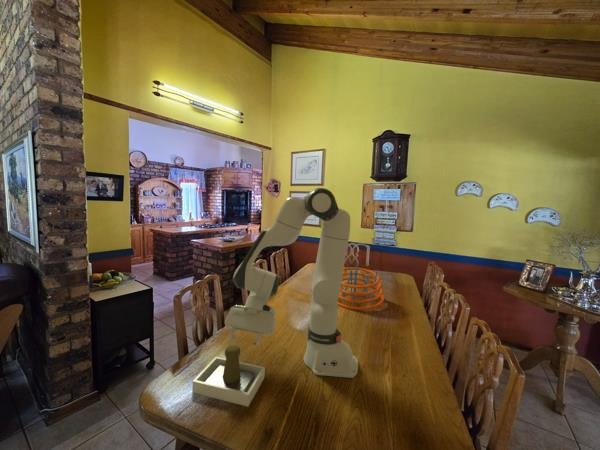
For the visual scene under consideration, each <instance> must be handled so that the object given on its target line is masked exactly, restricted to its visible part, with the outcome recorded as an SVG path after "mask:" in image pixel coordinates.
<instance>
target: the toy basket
mask: <svg viewBox="0 0 600 450" xmlns="http://www.w3.org/2000/svg"><path fill="white" fill-rule="evenodd" d="M344 271H350V272H344ZM353 271H354V272H353ZM358 271H362V272H358ZM378 271H379V270H376V271H373V270H370V269H368V268H362V267H359V263H356V266H355V267H352V266H351V267H344V269H343V276H342V283H341V289H340V293H342V295H340V294H339V296H338V299H341V300H342V301H346V302H349V303H352V304H353V306H351V305H347V304H345V303H342V302H339V301H338V306H339V307H342V308H345V309H349V310H356V311H366V310H367V311H368V310H372V309H375V308H378V307H380V306H381V305H383V303H384V301H385V294H384V290H383V288H382V286H383V285H382V283H381V277H380V275H379V274H378V273H379V272H378ZM364 272H366V273H364ZM367 273H370V275H369V274H367ZM372 275H373V276H372ZM344 276H348V277H344ZM358 276H362V278H361V277H358ZM374 276H375V277H374ZM365 277H366V278H365ZM370 279H371V280H370ZM373 280H374V281H373ZM343 281H345V282H343ZM346 281H347V282H346ZM357 281H363V282H357ZM368 283H370V284H368ZM343 287H345V289H344V288H343ZM348 288H349V289H350V291H347V289H348ZM369 288H370V289H371V291H368V289H369ZM357 289H358V290H359V289H363V290H362V292H357ZM377 293H378V295H377V296H375V297H374V295H375V294H377ZM346 295H348V296H353V299H352V298H347V297H346ZM370 295H371V298H370ZM357 296H361V298H360V299H356V297H357ZM364 296H366V297H367V299H364ZM380 298H381V300H379V299H380ZM377 300H379V302H377V303H376V304H373V305H370V306H354V305H356V304H363V303H364V304H365V303H371V304H372V303H374V302H375V301H377Z"/></svg>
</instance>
